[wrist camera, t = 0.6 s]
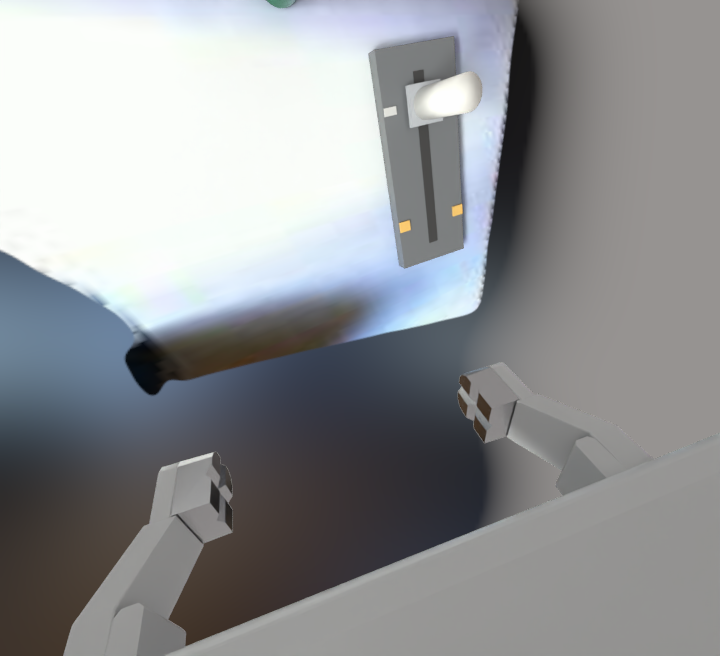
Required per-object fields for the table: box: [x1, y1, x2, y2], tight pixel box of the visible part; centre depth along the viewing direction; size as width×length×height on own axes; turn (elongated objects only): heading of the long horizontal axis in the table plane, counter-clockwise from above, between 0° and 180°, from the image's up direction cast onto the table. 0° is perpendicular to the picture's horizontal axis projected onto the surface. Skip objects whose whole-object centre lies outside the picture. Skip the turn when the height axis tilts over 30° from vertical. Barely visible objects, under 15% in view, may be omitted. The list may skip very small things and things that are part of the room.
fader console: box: [369, 36, 464, 268], centre depth 54 cm, size 30×12×2 cm, turn 12°
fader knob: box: [405, 72, 482, 128], centre depth 44 cm, size 5×5×10 cm
